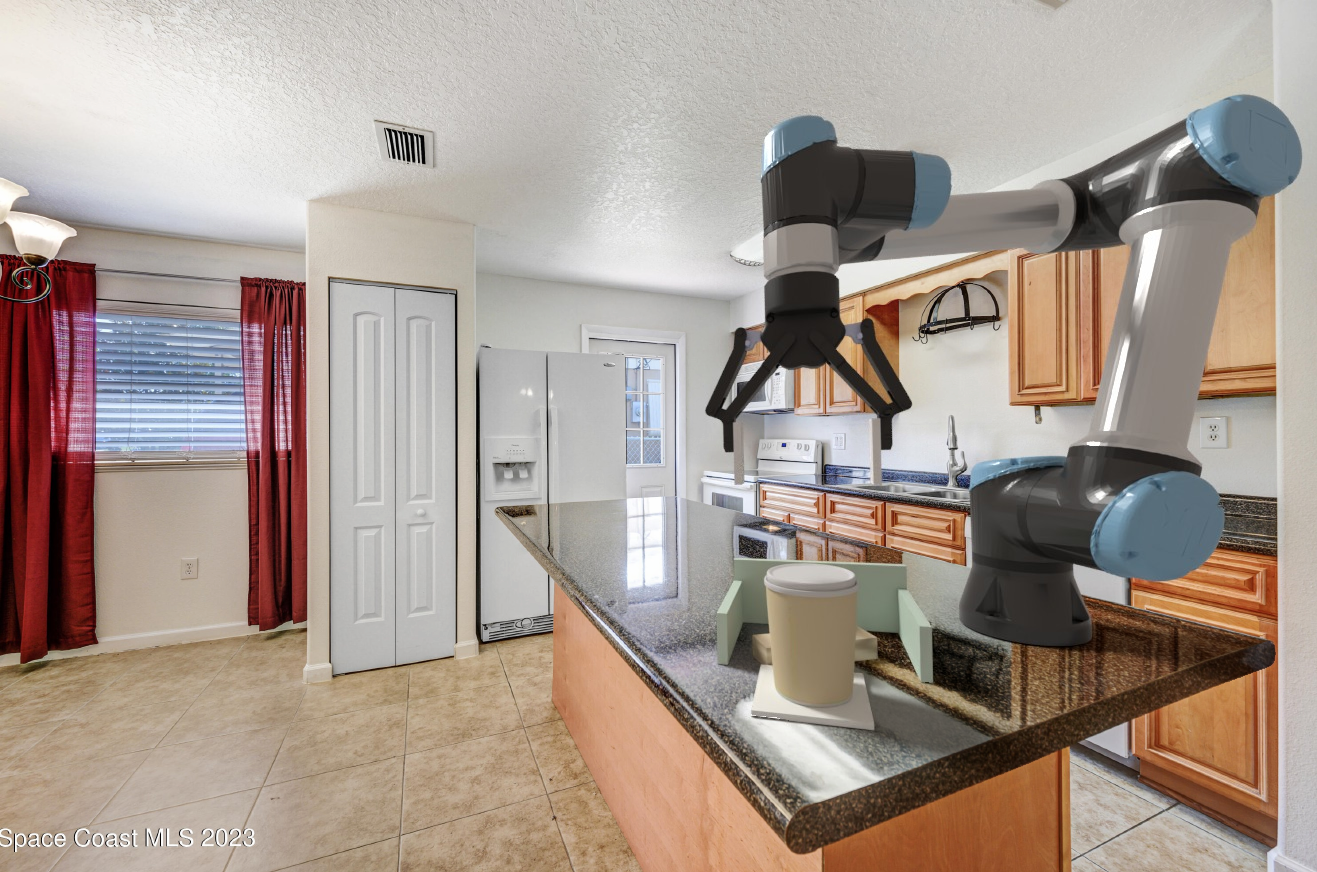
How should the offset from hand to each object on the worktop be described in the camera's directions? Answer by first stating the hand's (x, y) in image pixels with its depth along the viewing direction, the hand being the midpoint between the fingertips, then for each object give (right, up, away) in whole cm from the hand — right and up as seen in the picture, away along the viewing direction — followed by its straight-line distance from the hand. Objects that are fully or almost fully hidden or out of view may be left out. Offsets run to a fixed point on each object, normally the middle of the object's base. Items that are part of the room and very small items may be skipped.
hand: (805, 484), depth 57 cm
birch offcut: (+4, -22, +10) cm, 25 cm away
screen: (+5, -22, +13) cm, 26 cm away
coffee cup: (+1, -21, 0) cm, 21 cm away
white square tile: (0, -22, 0) cm, 22 cm away
